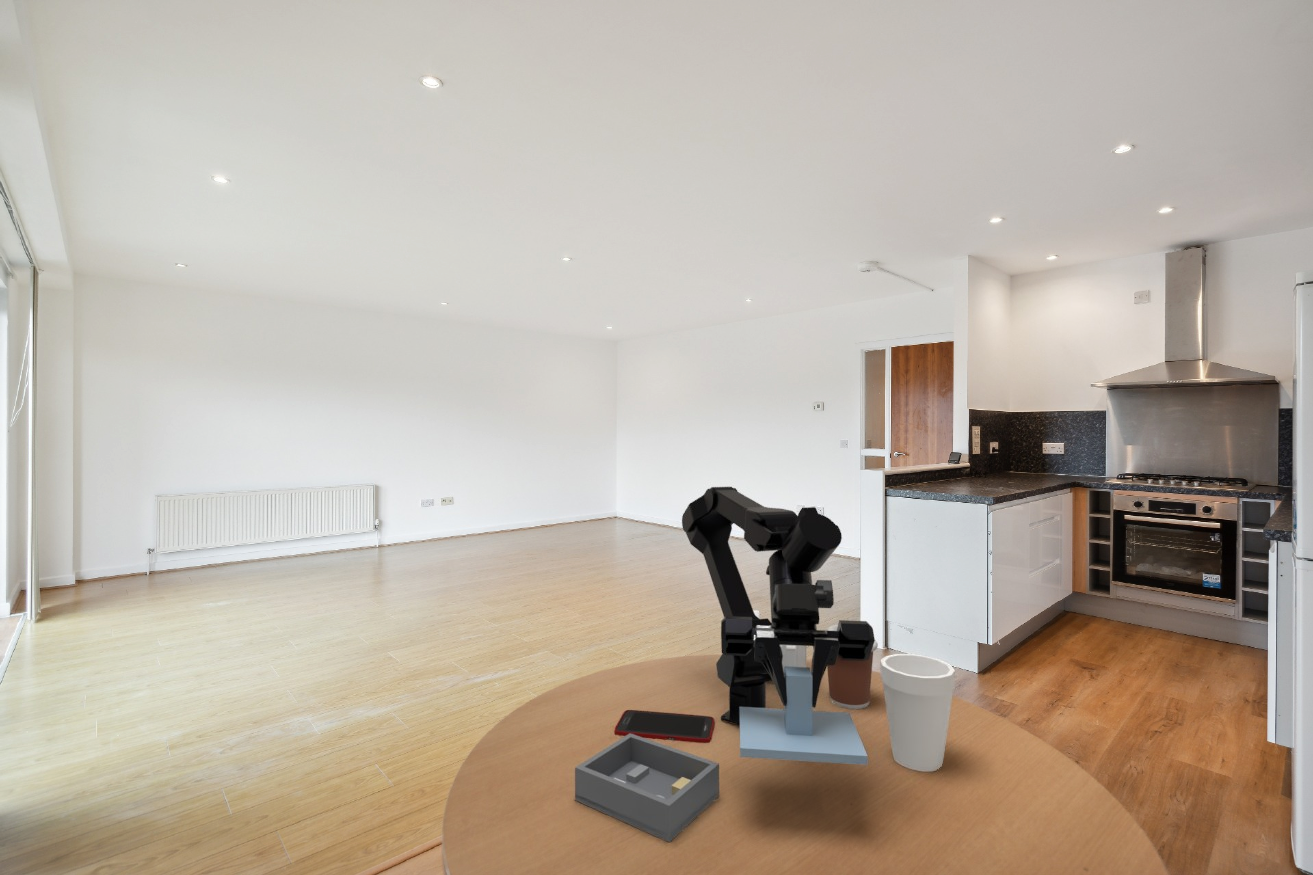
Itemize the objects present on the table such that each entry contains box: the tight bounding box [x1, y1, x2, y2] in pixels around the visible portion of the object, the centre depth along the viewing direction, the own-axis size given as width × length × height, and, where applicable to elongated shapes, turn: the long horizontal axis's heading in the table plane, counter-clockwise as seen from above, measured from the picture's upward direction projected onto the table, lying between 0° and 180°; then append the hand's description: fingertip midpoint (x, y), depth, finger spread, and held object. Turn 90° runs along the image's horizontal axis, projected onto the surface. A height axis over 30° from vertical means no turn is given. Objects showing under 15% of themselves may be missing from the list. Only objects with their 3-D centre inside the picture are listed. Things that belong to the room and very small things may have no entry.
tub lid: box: [739, 666, 869, 766], centre depth 75 cm, size 11×14×8 cm
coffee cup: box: [826, 624, 879, 710], centre depth 106 cm, size 9×9×12 cm
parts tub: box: [574, 733, 720, 843], centre depth 77 cm, size 11×14×4 cm
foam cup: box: [880, 653, 956, 773], centre depth 86 cm, size 10×9×13 cm
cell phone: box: [613, 709, 716, 744], centre depth 96 cm, size 8×15×1 cm, turn 79°
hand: (799, 705), depth 74 cm, fingers closed on tub lid, 3 cm apart
